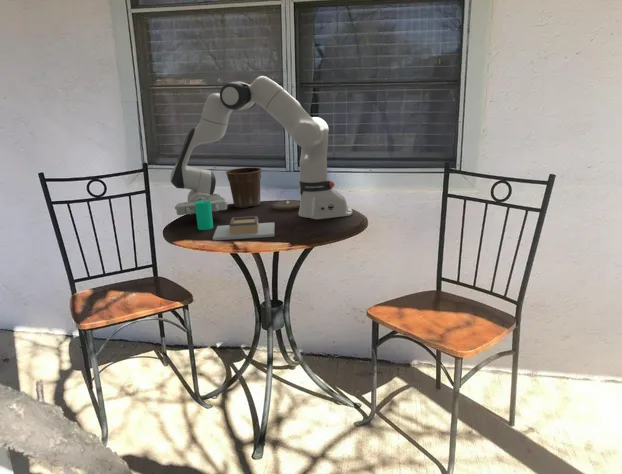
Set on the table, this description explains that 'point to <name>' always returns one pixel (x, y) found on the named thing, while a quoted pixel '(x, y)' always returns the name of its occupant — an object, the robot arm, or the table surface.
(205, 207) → the candle
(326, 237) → the table surface
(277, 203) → the table surface
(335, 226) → the table surface
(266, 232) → the board
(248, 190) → the plant pot
